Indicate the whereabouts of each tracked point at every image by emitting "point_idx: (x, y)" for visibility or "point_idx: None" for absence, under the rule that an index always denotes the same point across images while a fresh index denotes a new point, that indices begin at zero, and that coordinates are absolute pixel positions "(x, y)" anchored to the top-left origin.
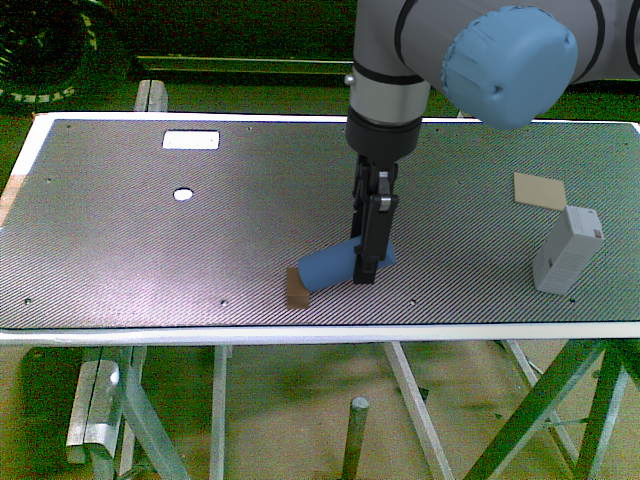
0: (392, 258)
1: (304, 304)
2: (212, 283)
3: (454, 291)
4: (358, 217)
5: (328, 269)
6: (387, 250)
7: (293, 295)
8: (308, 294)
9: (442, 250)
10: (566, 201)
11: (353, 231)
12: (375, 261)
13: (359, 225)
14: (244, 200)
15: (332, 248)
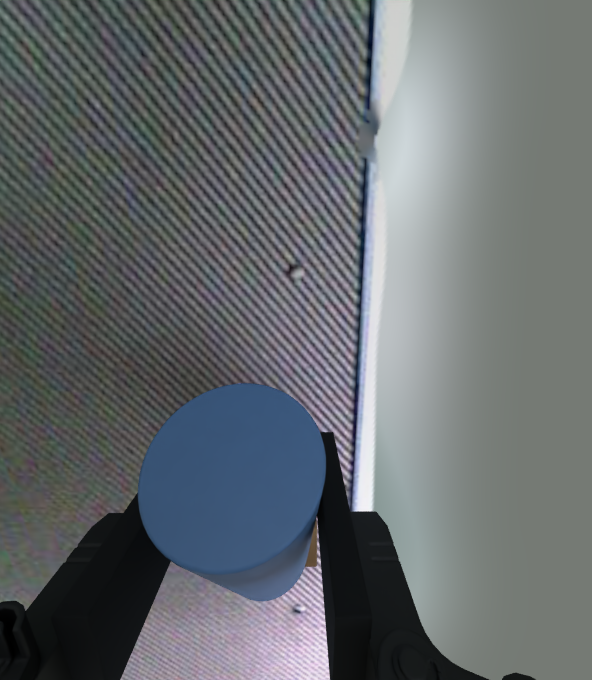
0: (301, 436)
1: None
2: (256, 626)
3: (256, 141)
4: (109, 674)
5: (300, 568)
6: (303, 502)
7: (316, 555)
8: (315, 530)
9: (94, 139)
10: None
11: (162, 572)
12: (408, 591)
13: (140, 595)
14: (24, 596)
15: (235, 592)
